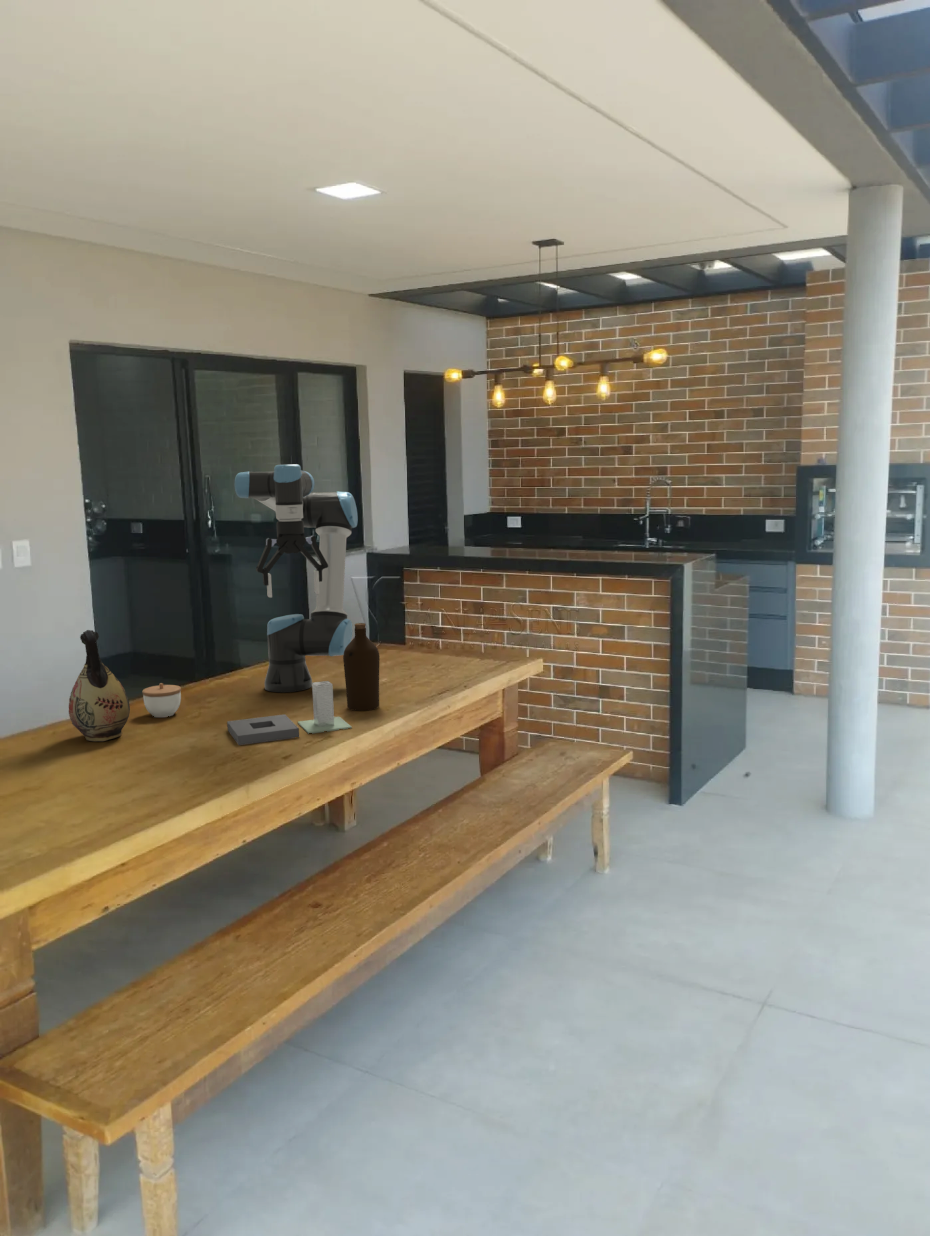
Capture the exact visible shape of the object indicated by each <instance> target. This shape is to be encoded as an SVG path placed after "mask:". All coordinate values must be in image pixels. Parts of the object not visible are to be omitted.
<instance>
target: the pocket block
mask: <svg viewBox="0 0 930 1236" xmlns="http://www.w3.org/2000/svg"><path fill="white" fill-rule="evenodd" d="M226 722H227V723H226V724H227V731H228V733H229V734H230V735H231V737H232V738H233V740H234V741H235V743H236V744H237V745H238V746H243V745H250V744H257V743H266V742H274V741H281V740H288V739H296V738H295V737H298V738H300V729H299V726H297V725H296V724H295V723H294V721H292V720H291V719H290V718H289V717H288V716H287V714H276V715H269V716H261V717H260V716H259V717H252V718H245V719H236V720H227V721H226Z"/></svg>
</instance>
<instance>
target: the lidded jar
mask: <svg viewBox="0 0 930 1236" xmlns="http://www.w3.org/2000/svg"><path fill="white" fill-rule="evenodd" d="M181 691H182V688H181V686H179V685H175V684H164V683H163V682H160V683H159V685H152V686H149V687H146V688H143V690H142V692H141V693H142V698H143V704H144V707H145V709H146V710H147V713H149V714H150V715H152V717H153V716H154V717H153V718H167V717H168V716H169V717H172V716H174V715H175V713H176V712H177V711H178V709H179V707H180V705H181V701H182V694H181Z"/></svg>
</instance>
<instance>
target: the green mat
mask: <svg viewBox="0 0 930 1236" xmlns="http://www.w3.org/2000/svg"><path fill="white" fill-rule="evenodd" d="M297 724H298V726H300V727H301V728H302V729H303V730H304V731H305V732H306V733H307V734H308V735H310V734H309V733H312V734H319V733H325V732H324V731H327V732H335V731H340V730H339V729H343V730H349V729H348V728H350V729H352V727H353V726H352V725H350V724H349V723H348V722H347V721H345V720H344V719H343V718H342V717H340V716H334V725H331V726H323V727H318V726H317V725H316V724H314V719H308V720H300V721H297Z"/></svg>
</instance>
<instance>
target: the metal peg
mask: <svg viewBox="0 0 930 1236" xmlns="http://www.w3.org/2000/svg"><path fill="white" fill-rule="evenodd" d="M333 686H334V684H333V683H331V682H330V681H329V680H325V681H324V680H322V681H315V682H314V681H313V682H312V687H311V688H312V704H313V705H312V706H313V707H312V708H313V720H314V724H316V725H317V726H318V727H323V726H331V725H334V717H335V714H334V713H335V711H334V688H333Z"/></svg>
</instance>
